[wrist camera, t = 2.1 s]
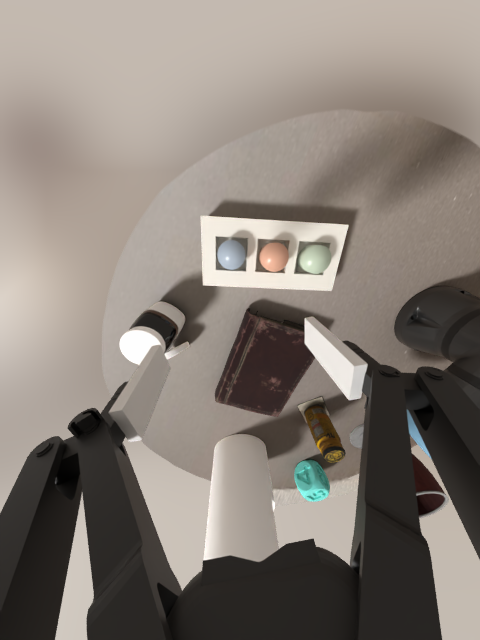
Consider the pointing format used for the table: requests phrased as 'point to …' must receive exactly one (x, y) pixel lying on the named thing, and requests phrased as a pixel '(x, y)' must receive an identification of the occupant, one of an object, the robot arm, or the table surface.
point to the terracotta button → (273, 256)
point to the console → (259, 234)
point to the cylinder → (241, 501)
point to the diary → (264, 365)
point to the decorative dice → (311, 480)
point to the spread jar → (154, 332)
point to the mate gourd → (416, 481)
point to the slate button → (231, 254)
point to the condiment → (322, 429)
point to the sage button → (314, 258)
